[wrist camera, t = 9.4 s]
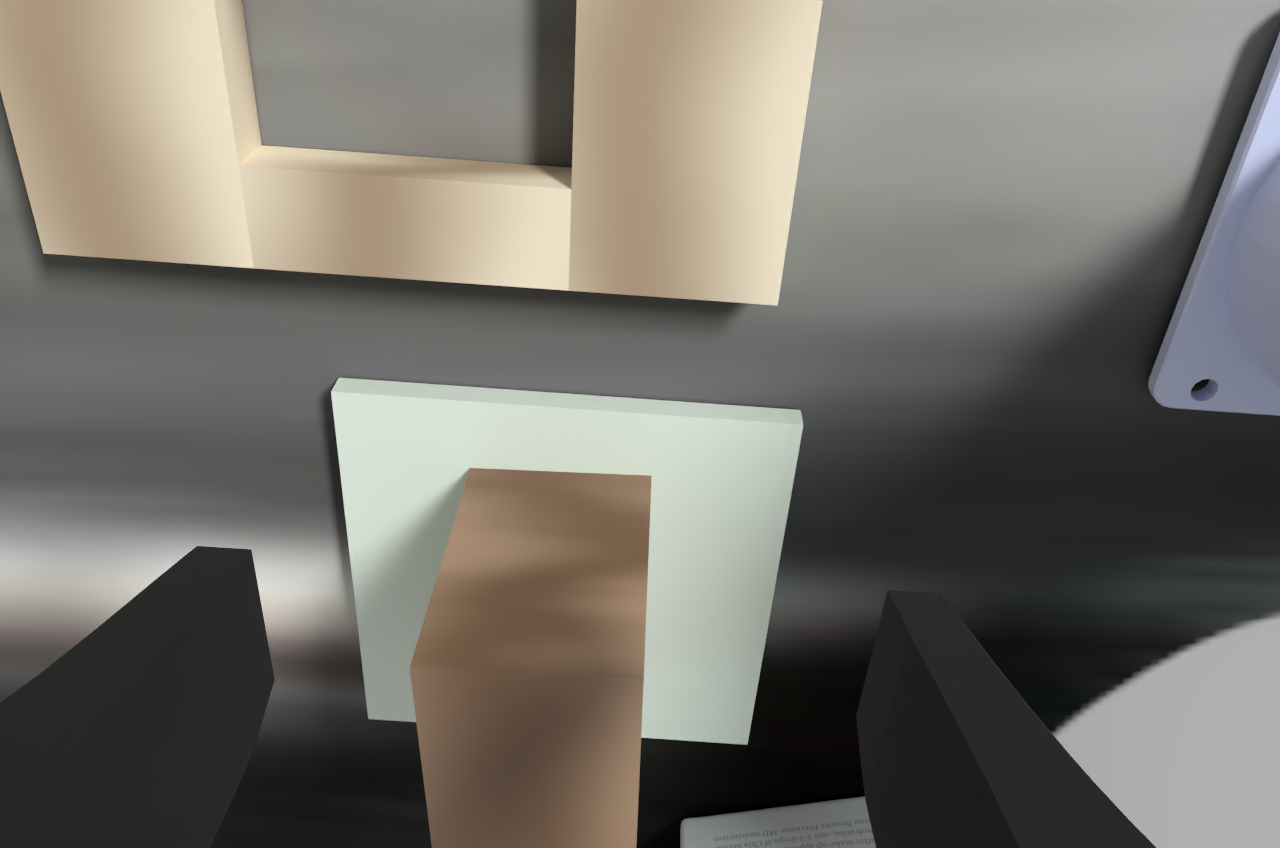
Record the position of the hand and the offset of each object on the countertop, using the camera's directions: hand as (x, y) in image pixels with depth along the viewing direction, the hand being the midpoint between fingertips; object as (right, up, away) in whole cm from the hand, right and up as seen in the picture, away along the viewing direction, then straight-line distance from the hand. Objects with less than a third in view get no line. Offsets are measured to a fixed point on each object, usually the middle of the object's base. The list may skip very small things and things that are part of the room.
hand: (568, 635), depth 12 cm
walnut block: (-1, -1, +12) cm, 12 cm away
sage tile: (-1, -1, +13) cm, 13 cm away
